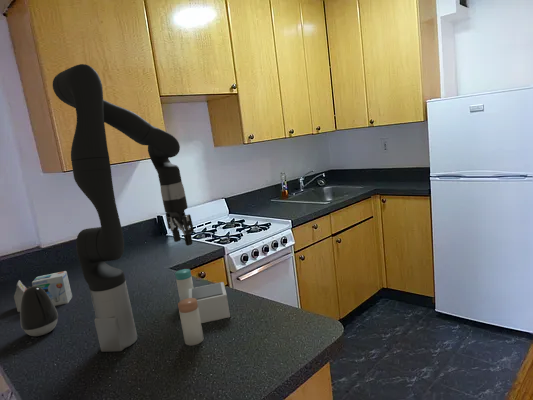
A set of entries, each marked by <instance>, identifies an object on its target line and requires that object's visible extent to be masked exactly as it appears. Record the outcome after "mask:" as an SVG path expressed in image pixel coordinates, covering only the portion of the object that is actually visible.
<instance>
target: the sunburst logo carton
mask: <svg viewBox="0 0 533 400" xmlns="http://www.w3.org/2000/svg"><path fill="white" fill-rule="evenodd" d="M26 289H27V286H26V285H24V284H23V282H22V281H21V280H18V281H17V283H16V289H15V292H14V295H13V299H14V302H15V307H16V310H17V313H20V305H21V299H22V296H23V293H24V292H25V290H26Z"/></svg>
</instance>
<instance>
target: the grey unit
mask: <svg viewBox="0 0 533 400" xmlns="http://www.w3.org/2000/svg"><path fill="white" fill-rule="evenodd" d="M189 298H195V299H197V304H198V309H199V315H200V320H201V324H204V323H209V322H214V321H218V320H222V319H226V318H230V317H231V314H230V308H229V302H228V300H229V299H228V295H227V291H226V287H225V283H224V281H220V282H215V283H211V284H207V285H206V284H205V285H201V286H196V287H194V288H191V289H189Z"/></svg>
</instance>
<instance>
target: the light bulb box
mask: <svg viewBox="0 0 533 400" xmlns="http://www.w3.org/2000/svg"><path fill="white" fill-rule="evenodd" d="M31 285H32V286H38V287H40V288H42V289H43V290H44V291H45V292H46V293H47V294H48V296H49V297H50V299H51V300H52V302H53V304H54V306H55V307H57V306H61V305H65V304H69V303H70V301H71V299H72V298H73V293H72V290H71V286H70V281H69V277H68V272H67V271H66V270H64V271H59V272H54V273H50V274H49V273H48V274H44V275H39V276H36V277H35V278H34V280H33V281H32V282H31ZM32 286H31V287H32Z"/></svg>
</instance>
